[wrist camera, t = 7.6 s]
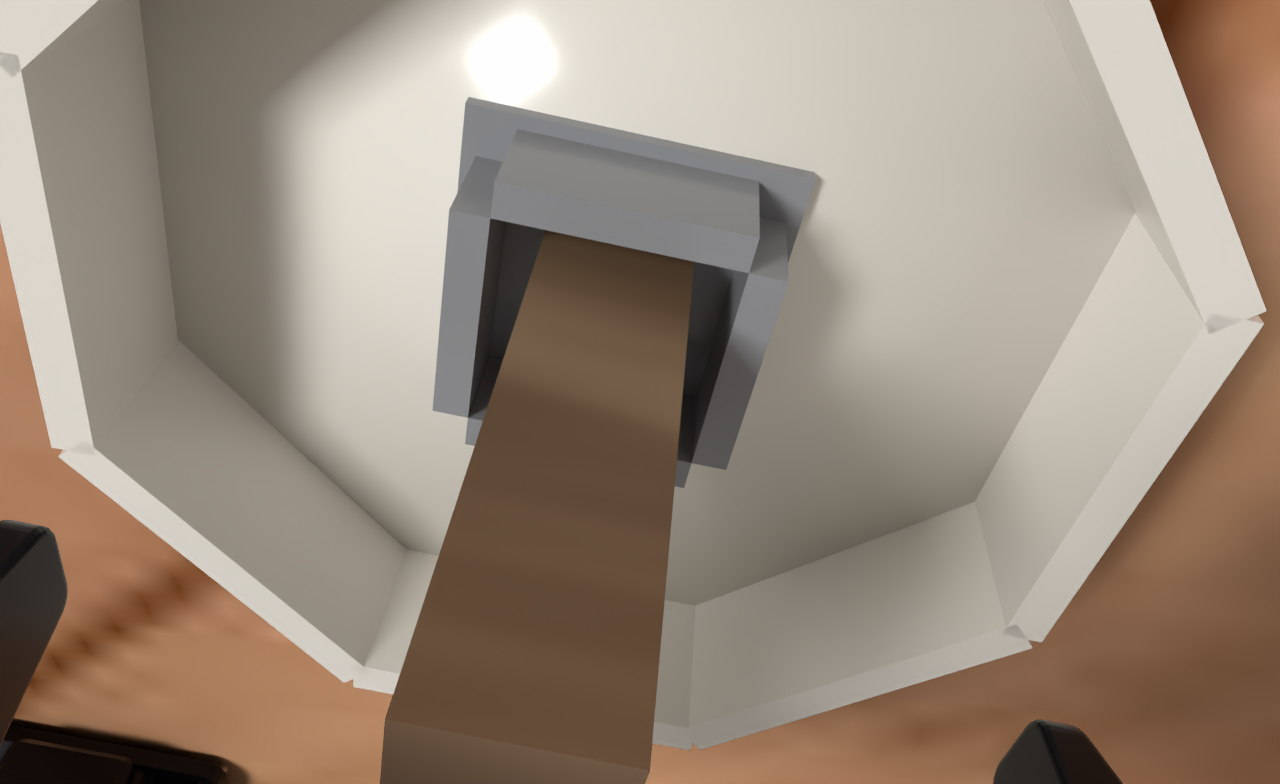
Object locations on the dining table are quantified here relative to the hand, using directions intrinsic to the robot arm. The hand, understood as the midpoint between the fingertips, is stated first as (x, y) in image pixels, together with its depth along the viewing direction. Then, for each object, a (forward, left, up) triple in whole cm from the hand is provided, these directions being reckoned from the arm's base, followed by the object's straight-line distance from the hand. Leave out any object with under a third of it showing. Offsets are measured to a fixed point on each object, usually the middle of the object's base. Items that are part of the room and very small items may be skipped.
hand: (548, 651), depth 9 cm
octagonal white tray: (0, 0, -7) cm, 7 cm away
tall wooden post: (0, 0, -6) cm, 7 cm away
